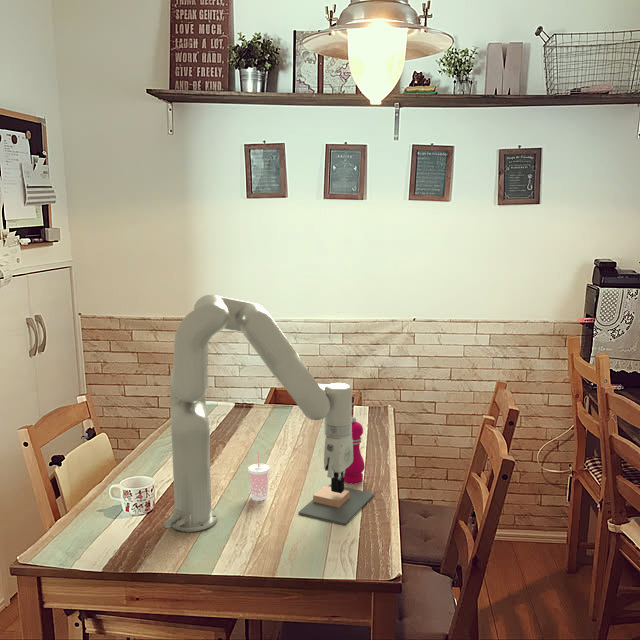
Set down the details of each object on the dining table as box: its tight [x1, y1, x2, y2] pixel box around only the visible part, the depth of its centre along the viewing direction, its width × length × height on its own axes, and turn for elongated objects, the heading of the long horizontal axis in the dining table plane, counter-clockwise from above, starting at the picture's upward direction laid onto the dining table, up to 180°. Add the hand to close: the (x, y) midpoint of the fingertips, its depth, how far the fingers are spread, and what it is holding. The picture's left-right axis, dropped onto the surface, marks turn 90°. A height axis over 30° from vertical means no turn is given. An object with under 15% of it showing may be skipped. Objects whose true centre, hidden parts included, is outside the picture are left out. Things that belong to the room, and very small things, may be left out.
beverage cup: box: [247, 450, 270, 502], centre depth 188 cm, size 6×6×14 cm
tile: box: [312, 485, 350, 508], centre depth 187 cm, size 2×8×7 cm
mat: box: [298, 483, 375, 526], centre depth 185 cm, size 20×14×1 cm
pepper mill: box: [343, 416, 365, 485], centre depth 200 cm, size 7×7×20 cm
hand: (337, 491), depth 184 cm, fingers closed
